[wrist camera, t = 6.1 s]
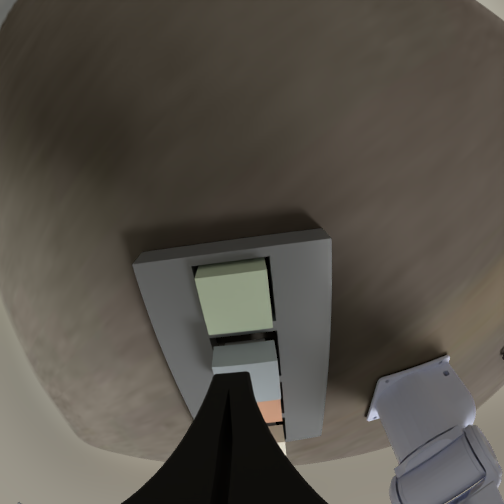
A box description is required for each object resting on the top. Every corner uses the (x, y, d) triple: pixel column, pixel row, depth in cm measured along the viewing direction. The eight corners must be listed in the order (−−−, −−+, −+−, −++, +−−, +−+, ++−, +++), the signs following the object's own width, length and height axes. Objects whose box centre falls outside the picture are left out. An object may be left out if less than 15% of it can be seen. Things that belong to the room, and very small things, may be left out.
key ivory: (281, 416, 23) (285, 441, 20) (283, 435, 24) (286, 458, 21) (238, 420, 23) (239, 446, 20) (244, 439, 24) (245, 462, 21)
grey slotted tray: (322, 228, 18) (331, 238, 16) (317, 421, 26) (321, 435, 24) (142, 252, 18) (132, 264, 16) (210, 433, 26) (209, 447, 24)
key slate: (272, 330, 19) (277, 360, 16) (276, 369, 20) (281, 399, 17) (214, 337, 19) (211, 367, 16) (225, 375, 20) (224, 405, 17)
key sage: (262, 249, 18) (266, 269, 15) (268, 302, 19) (273, 327, 17) (201, 257, 18) (194, 278, 15) (212, 309, 20) (208, 335, 17)
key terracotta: (275, 368, 22) (279, 394, 19) (278, 396, 24) (282, 421, 21) (228, 373, 22) (228, 400, 19) (236, 400, 24) (236, 425, 21)
